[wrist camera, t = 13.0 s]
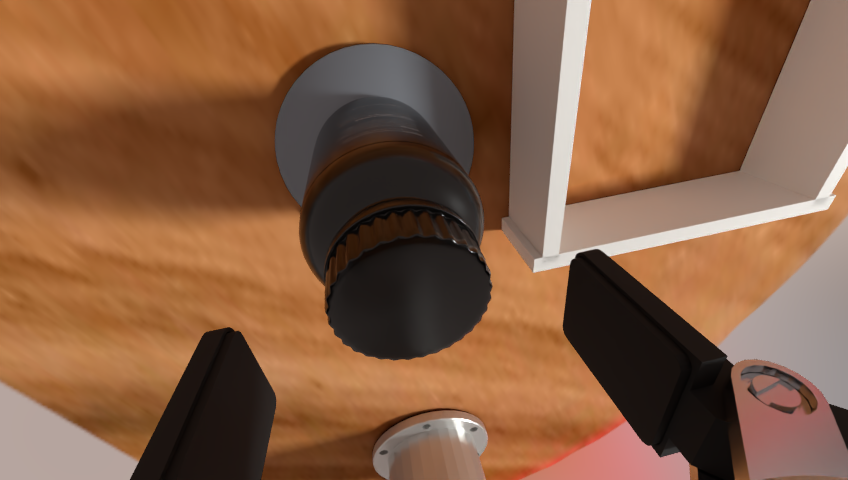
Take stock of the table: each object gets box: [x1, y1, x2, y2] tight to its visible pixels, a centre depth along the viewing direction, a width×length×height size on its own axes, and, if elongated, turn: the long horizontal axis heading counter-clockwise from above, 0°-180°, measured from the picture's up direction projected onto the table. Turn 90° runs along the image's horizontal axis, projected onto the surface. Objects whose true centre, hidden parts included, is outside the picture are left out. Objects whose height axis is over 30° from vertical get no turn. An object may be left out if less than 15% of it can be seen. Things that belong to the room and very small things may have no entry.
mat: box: [275, 43, 474, 207], centre depth 20 cm, size 11×11×1 cm
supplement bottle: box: [299, 97, 492, 360], centre depth 14 cm, size 7×7×12 cm
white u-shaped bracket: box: [502, 0, 848, 273], centre depth 19 cm, size 14×20×5 cm
